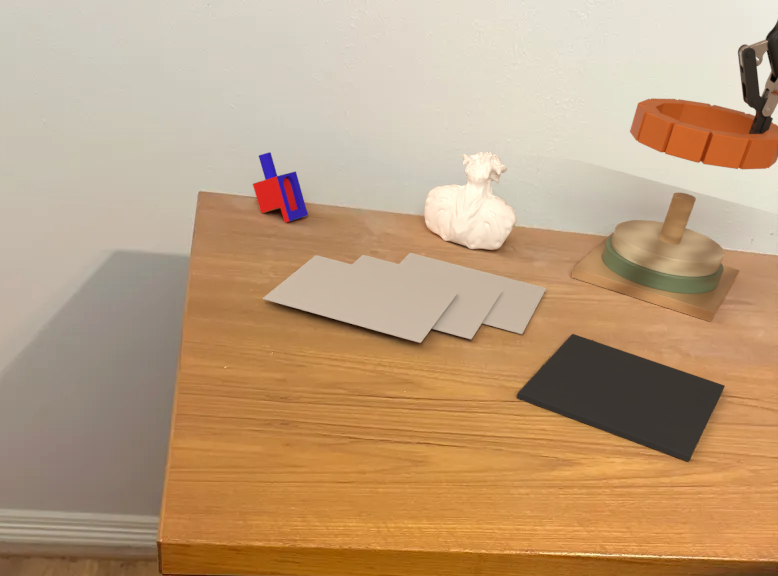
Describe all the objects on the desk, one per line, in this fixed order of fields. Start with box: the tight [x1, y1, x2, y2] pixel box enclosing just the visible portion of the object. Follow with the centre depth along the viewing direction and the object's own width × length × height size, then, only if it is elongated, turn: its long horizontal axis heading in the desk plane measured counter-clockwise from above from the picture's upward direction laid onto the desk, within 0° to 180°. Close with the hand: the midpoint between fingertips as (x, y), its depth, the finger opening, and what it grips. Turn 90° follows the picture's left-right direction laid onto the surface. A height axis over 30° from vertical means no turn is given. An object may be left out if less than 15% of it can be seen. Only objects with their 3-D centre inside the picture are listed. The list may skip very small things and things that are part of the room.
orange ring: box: [629, 98, 778, 170], centre depth 96 cm, size 16×16×3 cm
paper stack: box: [261, 252, 547, 344], centre depth 92 cm, size 23×25×1 cm
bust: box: [423, 151, 518, 251], centre depth 106 cm, size 12×8×11 cm
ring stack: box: [570, 192, 740, 323], centre depth 104 cm, size 17×17×10 cm
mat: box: [516, 333, 726, 463], centre depth 81 cm, size 16×16×1 cm
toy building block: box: [252, 152, 309, 223], centre depth 105 cm, size 4×4×8 cm
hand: (765, 152), depth 97 cm, fingers closed on orange ring, 2 cm apart
